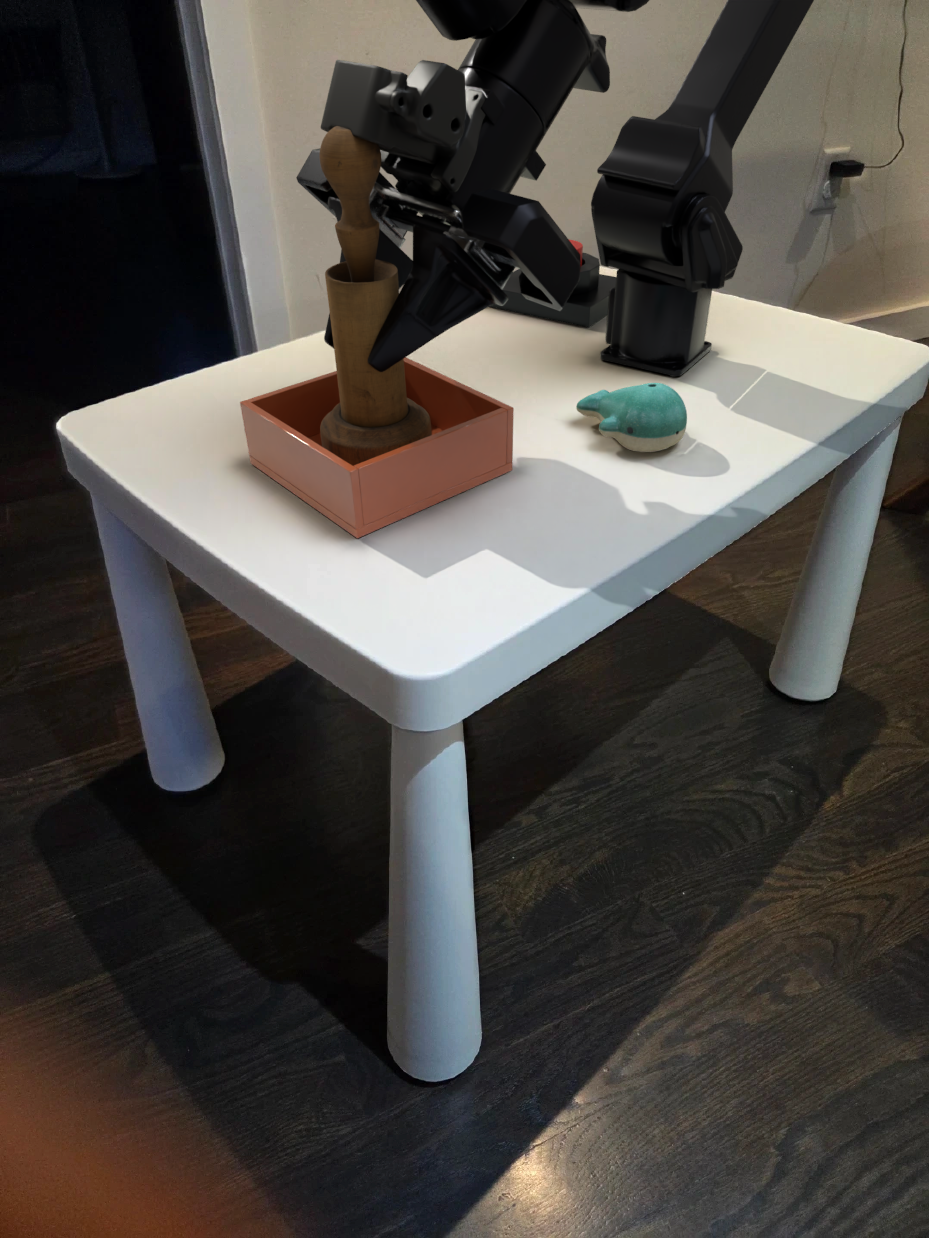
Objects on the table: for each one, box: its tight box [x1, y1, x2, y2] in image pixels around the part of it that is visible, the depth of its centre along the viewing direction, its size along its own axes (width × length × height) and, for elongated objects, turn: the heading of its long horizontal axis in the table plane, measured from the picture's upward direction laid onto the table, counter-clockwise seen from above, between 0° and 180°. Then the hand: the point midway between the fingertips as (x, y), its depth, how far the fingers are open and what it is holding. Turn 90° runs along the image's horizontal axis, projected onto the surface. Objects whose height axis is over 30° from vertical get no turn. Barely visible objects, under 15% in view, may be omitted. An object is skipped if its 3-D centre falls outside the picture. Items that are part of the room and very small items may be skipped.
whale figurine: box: [575, 382, 688, 453], centre depth 58 cm, size 6×7×4 cm
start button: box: [569, 239, 584, 266], centre depth 76 cm, size 4×4×2 cm
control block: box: [488, 252, 616, 329], centre depth 78 cm, size 10×8×4 cm
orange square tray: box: [239, 357, 515, 539], centre depth 55 cm, size 12×12×4 cm
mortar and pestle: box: [319, 126, 432, 466], centre depth 50 cm, size 7×6×18 cm
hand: (351, 356), depth 51 cm, fingers closed on mortar and pestle, 4 cm apart
